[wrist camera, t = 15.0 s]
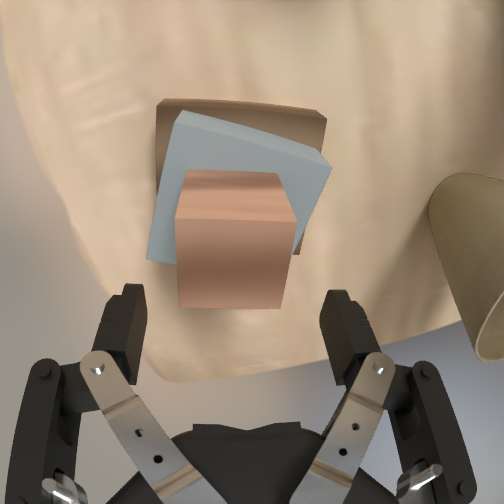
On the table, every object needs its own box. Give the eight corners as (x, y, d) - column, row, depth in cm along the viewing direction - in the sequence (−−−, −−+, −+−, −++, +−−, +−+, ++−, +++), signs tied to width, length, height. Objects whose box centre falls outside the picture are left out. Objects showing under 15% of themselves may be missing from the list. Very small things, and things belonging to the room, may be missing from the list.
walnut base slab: (166, 97, 23) (156, 105, 20) (313, 108, 25) (327, 118, 22) (166, 225, 30) (159, 249, 27) (291, 230, 32) (299, 254, 28)
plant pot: (485, 116, 24) (603, 187, 11) (503, 219, 32) (579, 301, 19) (375, 183, 28) (472, 300, 16) (415, 278, 36) (476, 383, 23)
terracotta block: (186, 169, 19) (174, 218, 14) (277, 173, 20) (297, 222, 15) (187, 245, 22) (179, 307, 17) (267, 247, 23) (280, 308, 18)
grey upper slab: (182, 109, 20) (174, 122, 17) (316, 148, 23) (332, 167, 20) (154, 229, 26) (145, 259, 22) (270, 255, 28) (277, 286, 25)
